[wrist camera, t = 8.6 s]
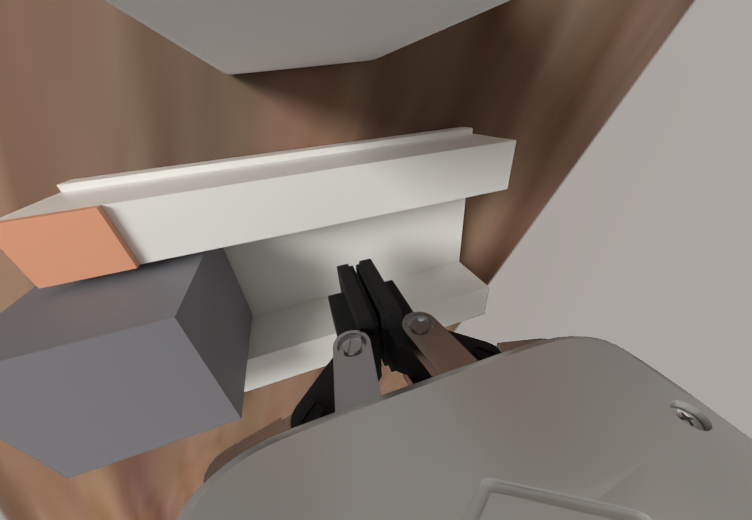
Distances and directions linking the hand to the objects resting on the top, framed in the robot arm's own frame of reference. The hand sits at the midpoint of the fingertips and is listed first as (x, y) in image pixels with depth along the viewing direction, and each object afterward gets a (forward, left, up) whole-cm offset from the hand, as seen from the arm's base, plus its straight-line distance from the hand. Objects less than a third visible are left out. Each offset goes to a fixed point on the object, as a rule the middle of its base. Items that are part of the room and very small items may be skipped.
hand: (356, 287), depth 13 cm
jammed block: (+9, 0, -4) cm, 10 cm away
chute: (+1, 0, -5) cm, 5 cm away
